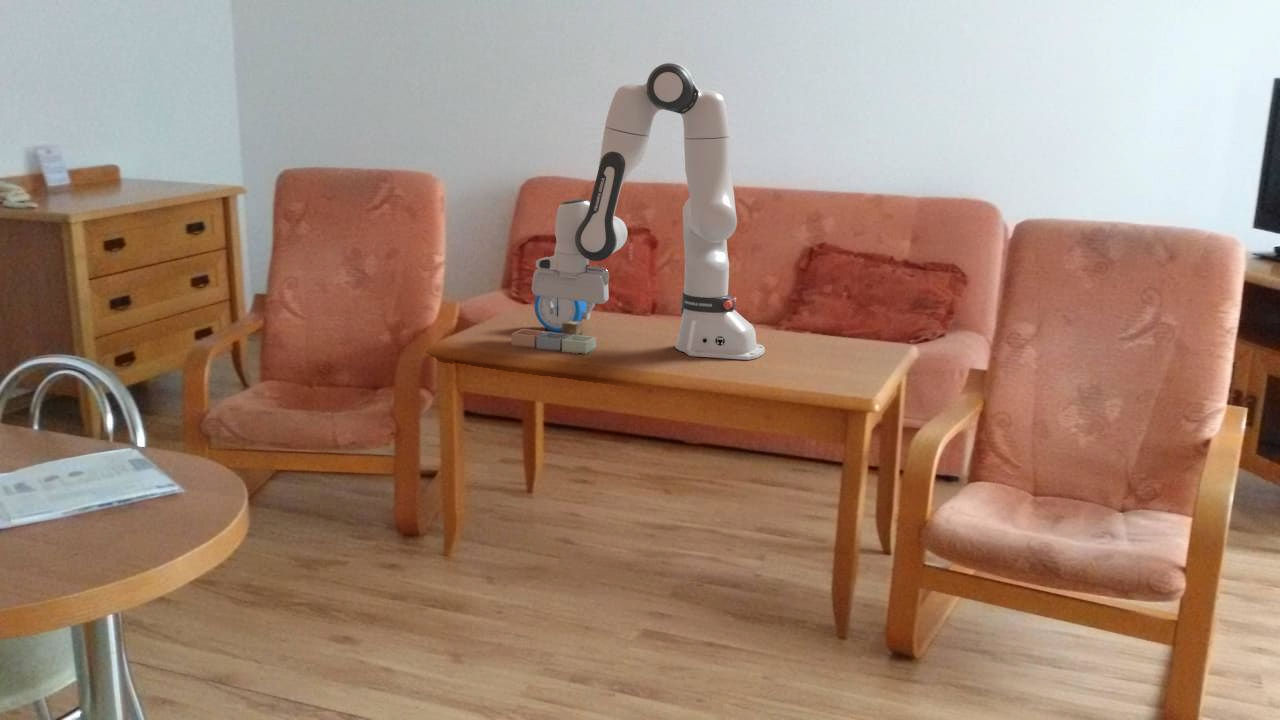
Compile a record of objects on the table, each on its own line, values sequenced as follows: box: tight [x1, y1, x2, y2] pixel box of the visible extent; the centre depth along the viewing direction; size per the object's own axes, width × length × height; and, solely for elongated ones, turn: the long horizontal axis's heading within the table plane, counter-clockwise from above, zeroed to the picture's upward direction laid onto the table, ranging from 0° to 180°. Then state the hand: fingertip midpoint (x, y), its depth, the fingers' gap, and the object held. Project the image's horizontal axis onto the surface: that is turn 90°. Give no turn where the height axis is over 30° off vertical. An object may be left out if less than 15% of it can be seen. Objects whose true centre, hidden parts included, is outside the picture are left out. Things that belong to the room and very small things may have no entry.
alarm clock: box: [533, 295, 588, 333], centre depth 300 cm, size 13×6×15 cm, turn 71°
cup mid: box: [536, 331, 571, 352], centre depth 283 cm, size 6×6×3 cm
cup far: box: [511, 328, 547, 349], centre depth 286 cm, size 6×6×3 cm
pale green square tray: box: [561, 335, 597, 355], centre depth 281 cm, size 6×6×3 cm
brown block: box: [561, 320, 584, 336], centre depth 290 cm, size 4×4×5 cm
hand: (569, 316), depth 289 cm, fingers open, 8 cm apart
